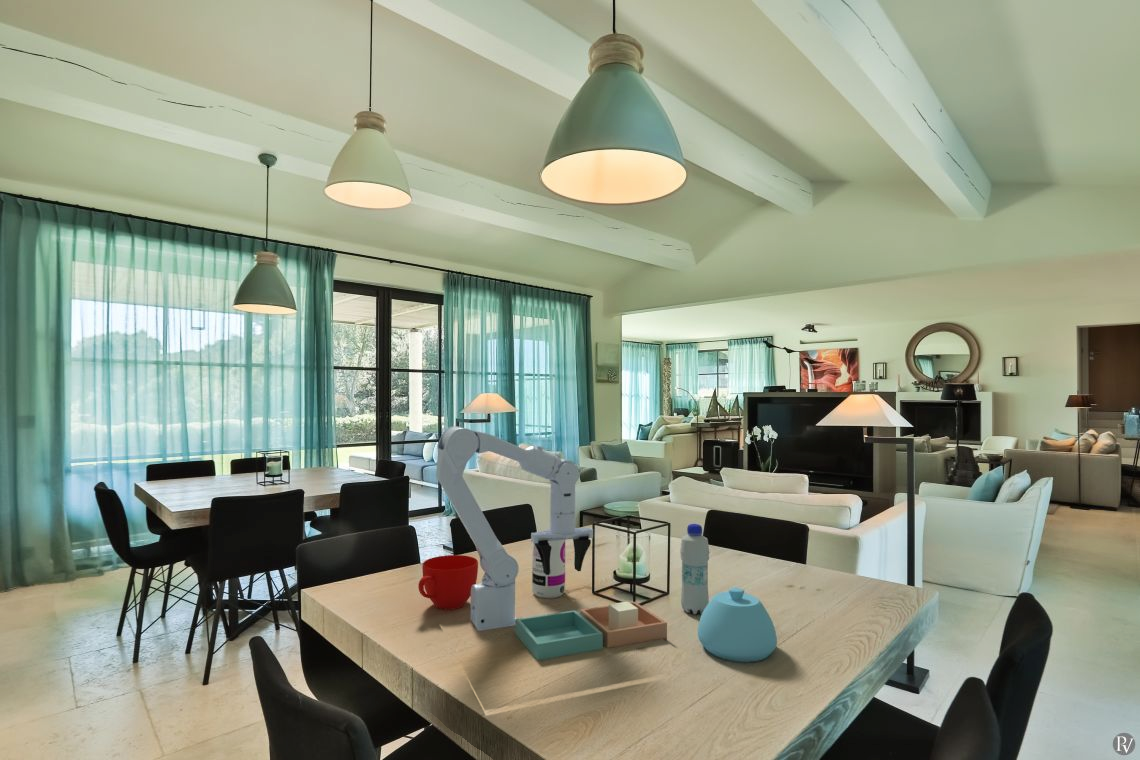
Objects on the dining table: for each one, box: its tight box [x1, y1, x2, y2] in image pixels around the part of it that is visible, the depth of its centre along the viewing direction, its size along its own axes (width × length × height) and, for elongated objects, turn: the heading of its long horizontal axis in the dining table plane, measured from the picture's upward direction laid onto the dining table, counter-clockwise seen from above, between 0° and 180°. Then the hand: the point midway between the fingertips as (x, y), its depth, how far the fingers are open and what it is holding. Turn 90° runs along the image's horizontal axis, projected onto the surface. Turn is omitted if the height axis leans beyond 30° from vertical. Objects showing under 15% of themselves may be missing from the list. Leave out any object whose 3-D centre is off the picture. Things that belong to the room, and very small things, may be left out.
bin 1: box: [515, 610, 604, 661], centre depth 118 cm, size 13×13×4 cm
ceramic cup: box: [418, 554, 479, 610], centre depth 138 cm, size 13×17×10 cm
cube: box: [608, 601, 638, 630], centre depth 123 cm, size 4×4×5 cm
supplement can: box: [531, 529, 566, 599], centre depth 148 cm, size 8×8×15 cm
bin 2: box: [579, 601, 668, 649], centre depth 124 cm, size 13×13×4 cm
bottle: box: [679, 523, 710, 615], centre depth 137 cm, size 7×7×20 cm
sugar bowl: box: [697, 587, 778, 663], centre depth 117 cm, size 15×15×12 cm
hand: (562, 571), depth 135 cm, fingers open, 7 cm apart
